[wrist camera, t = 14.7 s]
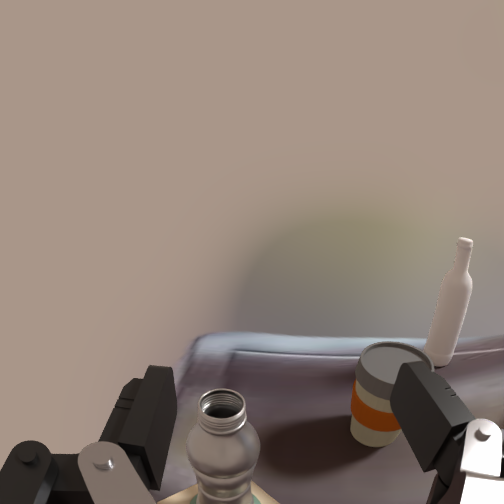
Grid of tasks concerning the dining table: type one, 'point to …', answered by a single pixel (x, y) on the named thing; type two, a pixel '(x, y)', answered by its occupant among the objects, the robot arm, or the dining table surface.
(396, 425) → the reusable coffee cup
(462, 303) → the bottle
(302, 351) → the dining table surface
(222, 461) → the plastic bottle
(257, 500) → the base block
